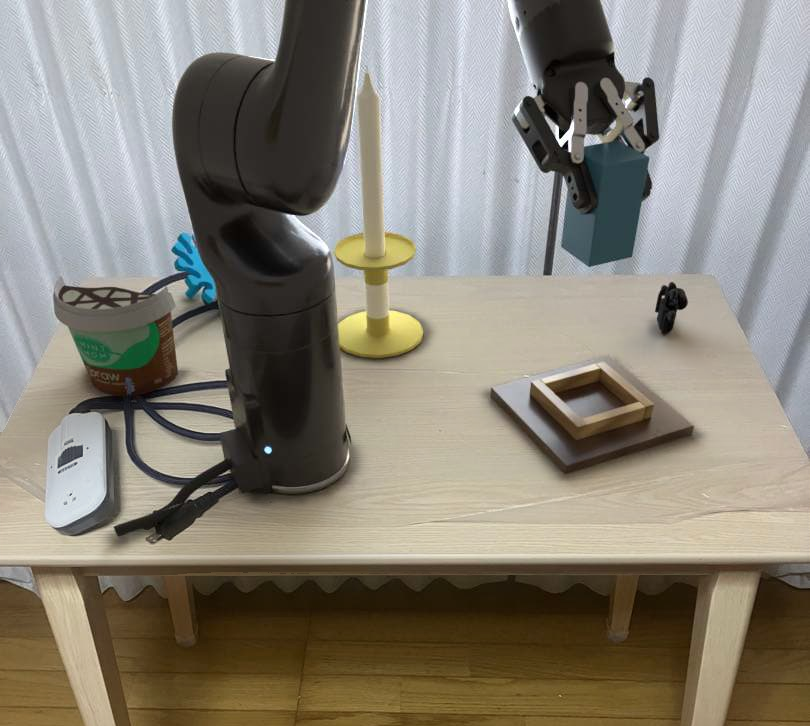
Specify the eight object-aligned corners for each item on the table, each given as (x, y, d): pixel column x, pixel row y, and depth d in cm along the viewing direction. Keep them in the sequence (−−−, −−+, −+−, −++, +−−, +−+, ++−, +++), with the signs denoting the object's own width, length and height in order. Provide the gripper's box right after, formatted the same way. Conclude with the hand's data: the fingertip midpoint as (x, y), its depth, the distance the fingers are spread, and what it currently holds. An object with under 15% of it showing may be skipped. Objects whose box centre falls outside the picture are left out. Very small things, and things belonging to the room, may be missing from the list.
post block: (588, 267, 79) (603, 166, 72) (560, 247, 82) (571, 148, 76) (632, 257, 80) (650, 156, 74) (603, 237, 83) (617, 139, 77)
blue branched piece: (225, 313, 96) (161, 241, 94) (196, 343, 99) (134, 273, 97) (270, 282, 104) (213, 215, 102) (242, 310, 108) (186, 246, 106)
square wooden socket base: (565, 474, 77) (568, 452, 75) (490, 395, 86) (491, 374, 85) (692, 434, 81) (698, 412, 79) (607, 362, 90) (611, 341, 89)
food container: (54, 395, 88) (22, 305, 81) (83, 363, 92) (56, 275, 85) (167, 409, 86) (144, 318, 79) (191, 375, 90) (172, 286, 83)
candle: (400, 304, 100) (395, 45, 82) (438, 344, 94) (441, 71, 75) (320, 324, 97) (295, 58, 79) (353, 366, 91) (334, 88, 72)
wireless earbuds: (652, 312, 98) (660, 270, 95) (674, 313, 98) (684, 271, 94) (661, 344, 93) (670, 301, 89) (684, 345, 93) (694, 302, 89)
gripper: (504, 0, 70) (567, 200, 70) (649, -17, 75) (708, 171, 75) (471, 57, 77) (528, 238, 78) (605, 38, 82) (659, 210, 82)
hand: (616, 204), depth 76 cm, fingers closed on post block, 4 cm apart
